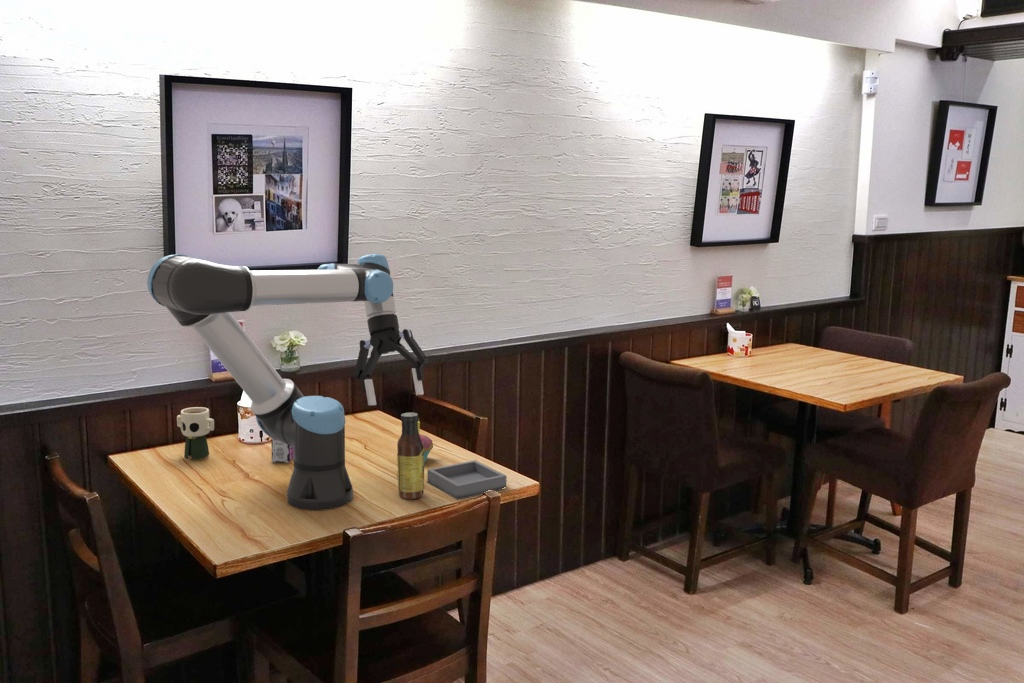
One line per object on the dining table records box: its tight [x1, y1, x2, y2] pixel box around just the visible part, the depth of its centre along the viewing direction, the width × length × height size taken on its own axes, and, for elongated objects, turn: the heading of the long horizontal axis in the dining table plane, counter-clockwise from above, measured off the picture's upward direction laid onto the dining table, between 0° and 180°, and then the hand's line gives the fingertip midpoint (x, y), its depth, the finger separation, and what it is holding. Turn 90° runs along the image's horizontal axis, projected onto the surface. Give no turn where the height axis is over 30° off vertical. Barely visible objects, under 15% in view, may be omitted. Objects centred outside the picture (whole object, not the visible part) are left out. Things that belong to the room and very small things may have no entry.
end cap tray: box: [427, 459, 508, 500], centre depth 226 cm, size 14×14×3 cm
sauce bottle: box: [396, 412, 425, 500], centre depth 216 cm, size 6×6×20 cm
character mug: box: [176, 406, 215, 461], centre depth 241 cm, size 11×7×13 cm, turn 75°
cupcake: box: [418, 419, 434, 463], centre depth 243 cm, size 9×8×12 cm
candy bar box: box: [270, 437, 294, 464], centre depth 243 cm, size 11×5×16 cm, turn 2°
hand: (396, 400), depth 227 cm, fingers open, 13 cm apart
